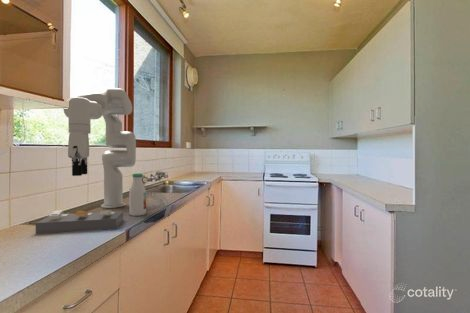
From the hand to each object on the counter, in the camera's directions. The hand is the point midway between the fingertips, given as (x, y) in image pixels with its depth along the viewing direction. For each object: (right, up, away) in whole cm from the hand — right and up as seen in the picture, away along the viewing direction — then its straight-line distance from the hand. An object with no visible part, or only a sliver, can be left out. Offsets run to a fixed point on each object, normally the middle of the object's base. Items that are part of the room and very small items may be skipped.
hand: (80, 174), depth 104 cm
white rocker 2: (+8, -17, +4) cm, 19 cm away
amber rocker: (0, -17, +2) cm, 17 cm away
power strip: (-1, -22, +4) cm, 22 cm away
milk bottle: (+14, -21, +25) cm, 35 cm away
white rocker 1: (-9, -17, 0) cm, 19 cm away
